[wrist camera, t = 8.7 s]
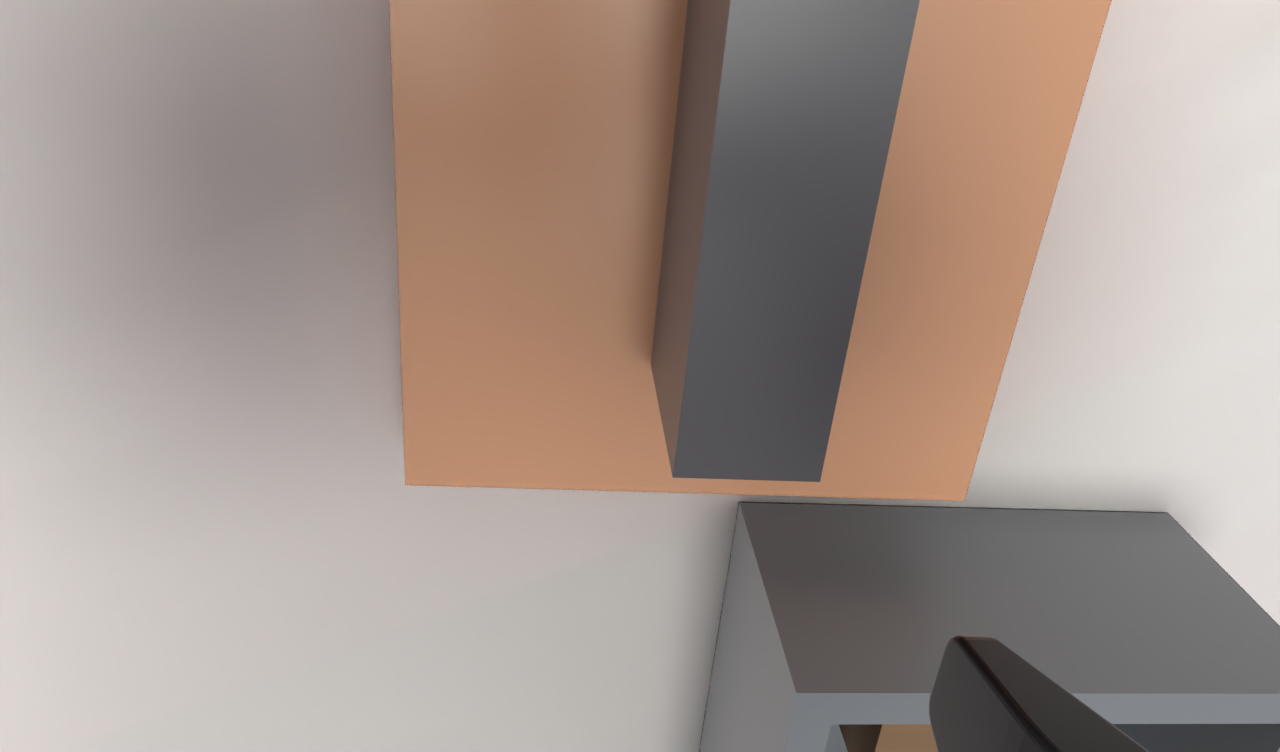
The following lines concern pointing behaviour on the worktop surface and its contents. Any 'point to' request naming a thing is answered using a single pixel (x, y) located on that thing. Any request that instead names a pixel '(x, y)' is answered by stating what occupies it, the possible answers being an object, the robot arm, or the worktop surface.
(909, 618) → the storage box
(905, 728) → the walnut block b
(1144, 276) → the worktop surface
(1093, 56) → the lid
